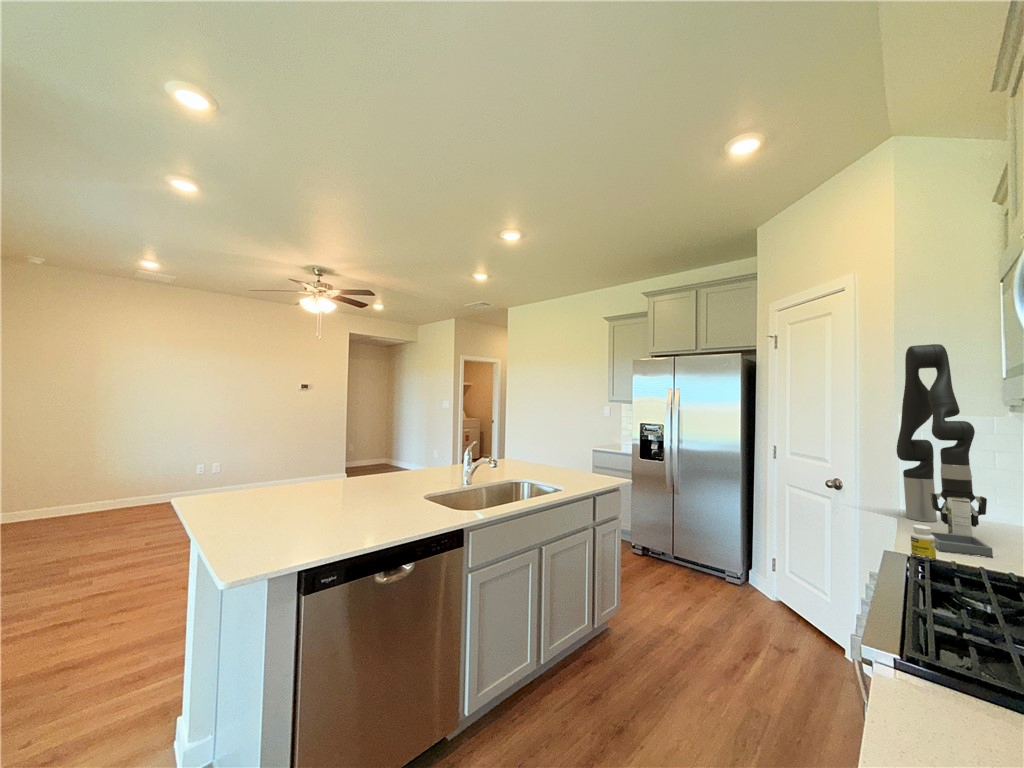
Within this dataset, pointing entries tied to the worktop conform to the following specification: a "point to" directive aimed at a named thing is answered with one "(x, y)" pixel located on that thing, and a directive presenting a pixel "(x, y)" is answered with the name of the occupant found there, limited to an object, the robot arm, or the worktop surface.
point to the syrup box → (959, 516)
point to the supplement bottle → (923, 542)
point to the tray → (961, 544)
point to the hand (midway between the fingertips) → (959, 524)
